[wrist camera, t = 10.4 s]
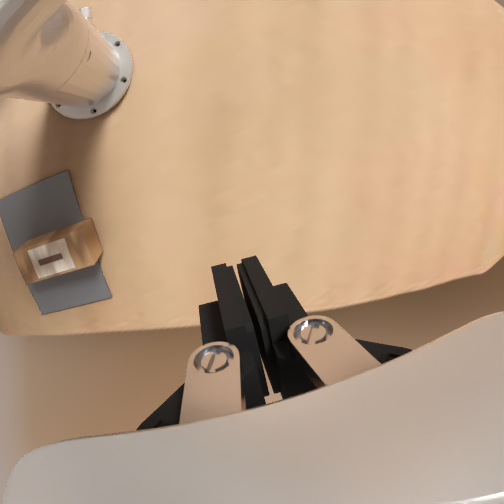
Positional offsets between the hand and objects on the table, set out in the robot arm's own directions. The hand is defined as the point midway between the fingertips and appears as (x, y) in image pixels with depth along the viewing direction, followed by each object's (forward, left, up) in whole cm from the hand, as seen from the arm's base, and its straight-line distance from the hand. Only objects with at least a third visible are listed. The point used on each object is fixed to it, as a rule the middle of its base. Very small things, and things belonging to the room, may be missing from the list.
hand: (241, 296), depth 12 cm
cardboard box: (+4, -16, -29) cm, 34 cm away
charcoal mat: (+4, -25, -32) cm, 41 cm away
